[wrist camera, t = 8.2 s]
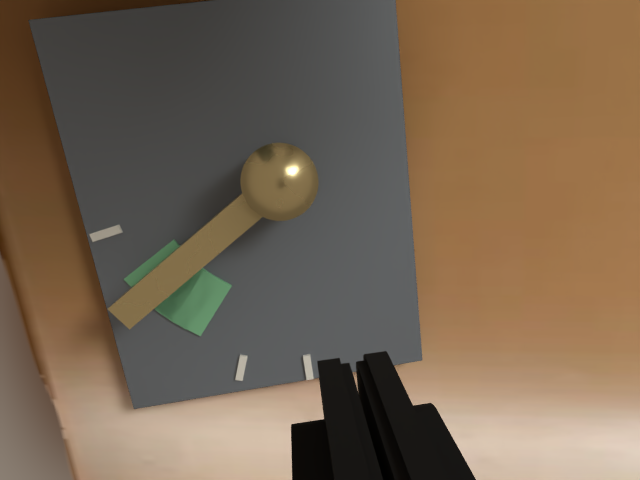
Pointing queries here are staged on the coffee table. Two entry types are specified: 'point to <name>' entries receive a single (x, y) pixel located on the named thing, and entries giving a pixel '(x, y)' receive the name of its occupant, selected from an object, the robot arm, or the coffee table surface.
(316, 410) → the coffee table surface
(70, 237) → the coffee table surface
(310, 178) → the needle
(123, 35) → the dial plate
